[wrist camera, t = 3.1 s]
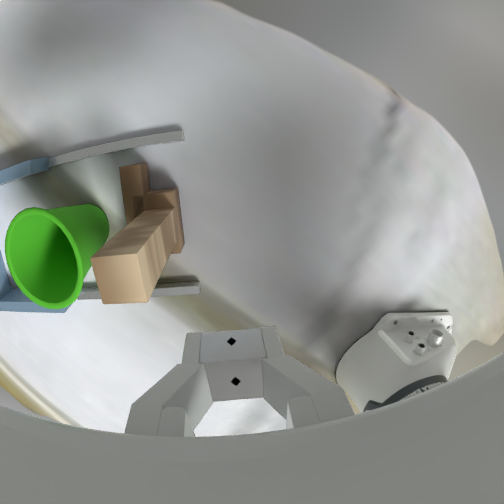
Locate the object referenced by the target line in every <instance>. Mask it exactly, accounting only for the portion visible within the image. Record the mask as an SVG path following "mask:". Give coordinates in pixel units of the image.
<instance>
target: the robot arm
mask: <svg viewBox="0 0 504 504" xmlns="http://www.w3.org/2000/svg"><path fill="white" fill-rule="evenodd" d="M394 321H395V322H394ZM452 325H453V321H452V316H451V314H450V313H449V312H424V313H388V314H386V315H384V316H383V317H382V318H381V319H380V320H379V322H378V323H377V324H376V325H375V327H374V328H373V329H372V330H371V331H370V332H369V333H367V334H366V335H365V336H363V337H362V338H361V339H359V340H358V341H357V342H356V343H354V344H353V345H352V346H351V347H350V348H349V349H348V351H347V352H346V353H345V354H344V356H343V357H342V359H341V360H340V362H339V364H338V367H337V370H336V381H337V383H338V385H337V384H335V383H334V382H332V381H330V380H329V379H327V378H325V377H324V376H322V375H320V374H319V373H317V372H315V371H314V370H312V369H311V368H309V367H307V366H306V365H304V364H303V363H301V362H299V361H298V360H296V359H295V358H293V357H291V356H290V355H284V351H283V348H282V345H281V342H280V338H279V335H278V332H277V328H276V326H267V327H260V328H255V329H246V330H235V331H216V332H202V333H201V332H196V333H187V335H186V339H185V345H184V352H183V358H182V364H177V365H176V366H175V367H174V368H173V369H172V370H171V371H169V372H168V373H167V374H166V375H165V376H164V377H163V378H162V379H160V380H159V381H158V382H157V383H156V384H155V385H154V386H152V387H151V388H150V389H149V390H148V391H147V392H146V393H144V394H143V395H142V396H141V397H140V398H139V399H138V400H136V401H135V402H134V403H133V404H132V406H131V409H130V413H129V417H128V421H127V425H126V429H125V433H116V432H108V431H101V430H94V429H88V428H83V427H77V426H72V425H68V424H63V423H59V422H54V421H50V420H46V419H42V418H39V417H35V416H32V415H28V414H25V413H22V412H19V411H15V410H12V409H9V408H7V407H4V406H1V405H0V504H504V352H503V353H501V354H499V355H498V356H496V357H494V358H492V359H491V360H489V361H487V362H485V363H484V364H482V365H480V366H478V367H476V368H474V369H472V370H471V371H468V372H466V373H465V374H463V375H460V376H459V377H456V378H454V379H452V380H450V381H447V380H448V378H449V375H450V372H451V369H452V366H453V364H454V360H455V357H456V351H457V348H456V343H455V340H454V339H453V337H452V336H451V331H452ZM344 391H345V392H346V393H347V394H348V395H349V397H350V398H351V399H352V400H353V402H354V403H355V404H356V406H357V407H358V409H359V410H360V412H361V413H360V414H356V415H355V414H354V412H353V410H352V408H351V405H350V403H349V401H348V399H347V397H346V395H345V392H344ZM262 397H264V399H265V400H266V401H267V402H268V403H269V404H270V405H271V406H272V407H273V408H274V409H275V410H276V411H277V412H278V413H279V414H280V415H281V416H282V417H284V418H285V419H286V420H287V421H286V429H285V430H278V431H271V432H263V433H254V434H243V435H230V436H210V437H195V434H194V431H193V430H194V429H195V428H196V426H197V425H198V424H199V422H200V421H201V419H202V418H203V416H204V415H205V414H206V412H207V411H208V409H209V408H210V407H211V405H212V404H213V402H215V401H226V400H236V399H250V398H262Z"/></svg>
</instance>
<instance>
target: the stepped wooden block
mask: <svg viewBox="0 0 504 504" xmlns="http://www.w3.org/2000/svg"><path fill="white" fill-rule="evenodd" d="M119 169H120V178H121V186H122V194H123V201H124V208H125V214H126V221H127V226H126V227H124V228H123V229H122V230H121V231H120V232H118V233H117V234H116V235H115V236H114V237H113V238H112V239H110V240H109V241H108V242H107V243H106V244H105V245H104V246H103V247H101V248H100V249H99V250H98V251H97V252H96V253H95V254H94V255H93V256H92V257H90V259H91V263H92V267H93V271H94V275H95V278H96V282H97V286H98V289H99V292H100V296H101V299H102V302H103V304H122V303H146V302H148V301H149V299H150V296H151V294H152V292H153V290H154V288H155V286H156V283H157V281H158V279H159V277H160V275H161V273H162V271H163V269H164V267H165V264H166V262H167V260H168V258H169V256H170V254H174V253H181V251H182V248H183V246H184V243H185V242H184V235H183V227H182V219H181V210H180V201H179V192H178V187H177V188H169V189H160V190H152V191H150V184H149V175H148V165H147V163H140V164H134V165H128V166H123V167H119Z"/></svg>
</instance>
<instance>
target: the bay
mask: <svg viewBox="0 0 504 504" xmlns="http://www.w3.org/2000/svg"><path fill="white" fill-rule="evenodd" d="M48 158H49V157H45V158H38V159H32V160H28V161H25V162H22V163H19V164H17V165H14V166H11V167H9V168H6V169H4V170H1V171H0V185H3V184H6V183H8V182H11V181H14V180H17V179H20V178H23V177H26V176H29V175H33V174H36V173H39V172H43V171H46V170H49V169H50V167H49V162H48ZM70 306H71V305H69V306H68V307H65V308H61V309H48V308H45V307H42V306H39V305H38V304H36V303H34V302H33V301H31V300H30V299H29V298H28V297H27V296H26V295H25V294H24V293H23V292H22V291H21V290H20V289H12V287H11V284H10V281H9V278H8V275H7V272H6V269H5V266H4V262H3V259H2V255H1V252H0V311H15V312H45V313H65V312H66V311H67V309H68V308H69V307H70Z"/></svg>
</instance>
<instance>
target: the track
mask: <svg viewBox="0 0 504 504" xmlns="http://www.w3.org/2000/svg"><path fill="white" fill-rule="evenodd" d="M177 141H184V131H182V130H180V131H173V132H166V133H159V134H152V135H146V136H140V137H135V138H129V139H124V140H119V141H114V142H110V143H105V144H101V145H96V146H92V147H88V148H84V149H80V150H76V151H72V152H69V153H65V154H62V155H58V156H55V157H51V158H48V162H49V167H52V166H56V165H60V164H63V163H67V162H71V161H75V160H79V159H83V158H87V157H92V156H96V155H101V154H105V153H110V152H115V151H120V150H126V149H131V148H137V147H143V146H149V145H155V144H162V143H169V142H177ZM189 294H200V282H199V281H193V282H179V283H164V284H156V286H155V288H154V290H153V292H152V294H151V296H150V297H156V296H174V295H189ZM77 298H78V300H81V299H101V296H100V292H99V289H98V287H94V288H82V289H81V292H80V295H79V296H78V297H77Z"/></svg>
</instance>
